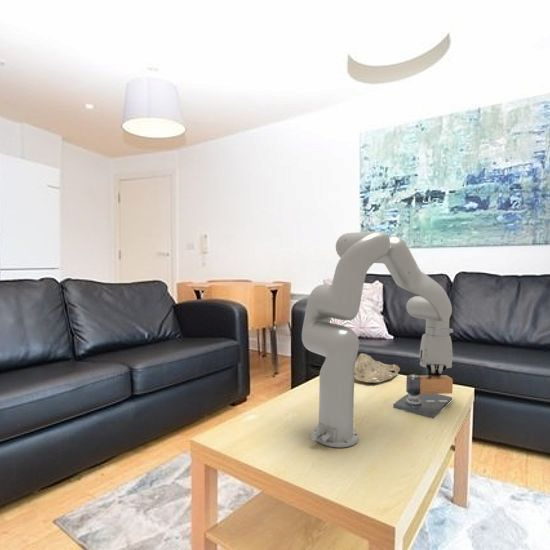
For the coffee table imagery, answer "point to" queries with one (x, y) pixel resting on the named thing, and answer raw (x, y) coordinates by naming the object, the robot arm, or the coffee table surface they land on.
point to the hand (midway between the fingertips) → (435, 383)
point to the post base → (423, 404)
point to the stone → (373, 369)
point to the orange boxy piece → (429, 384)
